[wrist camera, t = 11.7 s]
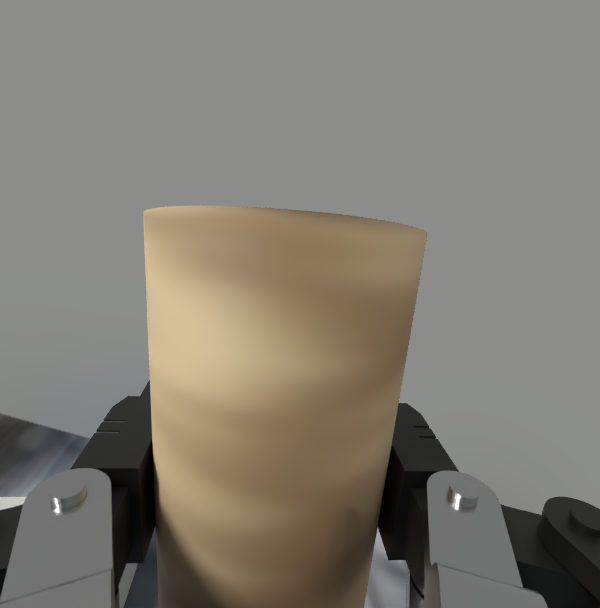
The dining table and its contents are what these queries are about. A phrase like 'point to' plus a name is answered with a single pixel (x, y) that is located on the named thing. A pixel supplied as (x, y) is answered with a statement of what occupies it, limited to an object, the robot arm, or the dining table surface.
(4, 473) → the dining table surface
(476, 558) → the robot arm
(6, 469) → the dining table surface
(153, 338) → the wooden peg
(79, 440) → the dining table surface
